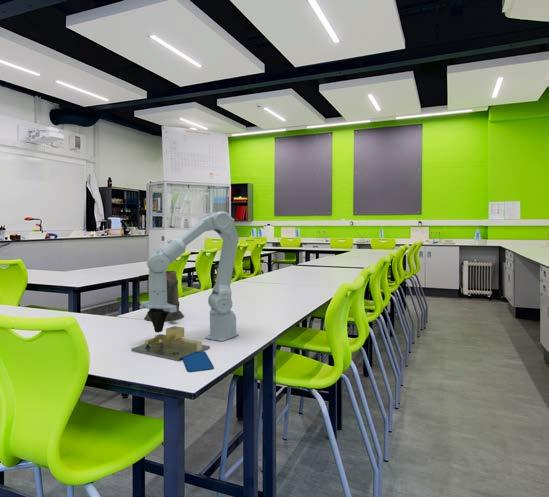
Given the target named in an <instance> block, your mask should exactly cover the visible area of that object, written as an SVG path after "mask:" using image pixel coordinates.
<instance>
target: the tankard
mask: <svg viewBox="0 0 549 497" xmlns="http://www.w3.org/2000/svg"><path fill="white" fill-rule="evenodd" d="M166 277H167V303H168V304H171V305H175V306H177V312H173V313H172V312H169V313H168V315H167V317H166V320H165V322H164V323H167V322H175V321H178V320H182V319H184V318H185V316H184V314H183V313H182V311H180V301H179V286H178V284H179V280H178V277H177V272H176V270H166ZM150 310H151V309H148V311H150ZM145 320H146V322H149V321H150V322H149V323H152V321H151V319H150V317H149V315H148V314H147V313H146V315H145V317H144V318H143V321H145Z"/></svg>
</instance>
